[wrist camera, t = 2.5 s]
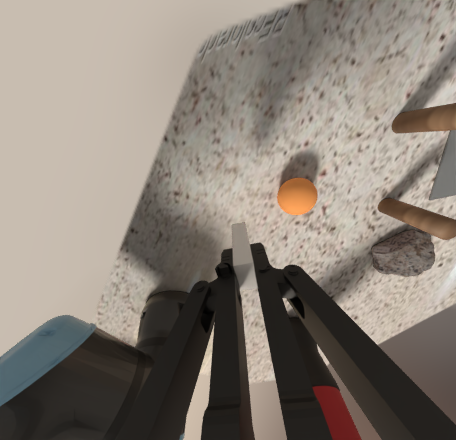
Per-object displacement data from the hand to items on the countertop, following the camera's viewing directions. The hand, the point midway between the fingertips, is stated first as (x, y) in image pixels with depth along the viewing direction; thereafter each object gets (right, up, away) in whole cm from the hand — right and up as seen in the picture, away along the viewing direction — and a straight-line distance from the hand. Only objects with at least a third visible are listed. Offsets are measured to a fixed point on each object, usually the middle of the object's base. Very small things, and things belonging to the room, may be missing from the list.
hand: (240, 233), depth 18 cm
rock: (+31, -4, +14) cm, 35 cm away
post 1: (+23, +15, +4) cm, 28 cm away
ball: (+9, +5, +6) cm, 12 cm away
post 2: (+26, +4, +10) cm, 28 cm away
